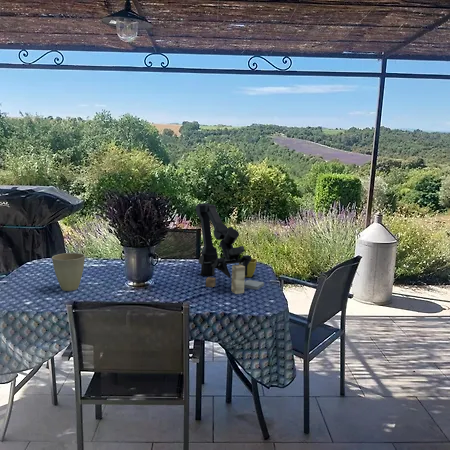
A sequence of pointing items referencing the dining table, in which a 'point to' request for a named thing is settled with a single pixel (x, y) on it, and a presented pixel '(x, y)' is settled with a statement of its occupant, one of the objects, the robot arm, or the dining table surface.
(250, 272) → the flower pot
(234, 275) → the beech pillar
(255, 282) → the slate plinth
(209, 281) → the walnut cube
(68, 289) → the plant pot
